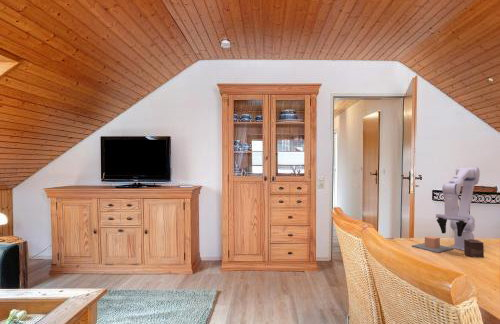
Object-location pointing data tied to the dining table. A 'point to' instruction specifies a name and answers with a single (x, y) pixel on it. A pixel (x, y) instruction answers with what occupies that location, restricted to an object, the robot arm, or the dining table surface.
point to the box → (473, 248)
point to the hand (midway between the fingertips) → (451, 234)
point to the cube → (432, 242)
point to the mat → (436, 250)
